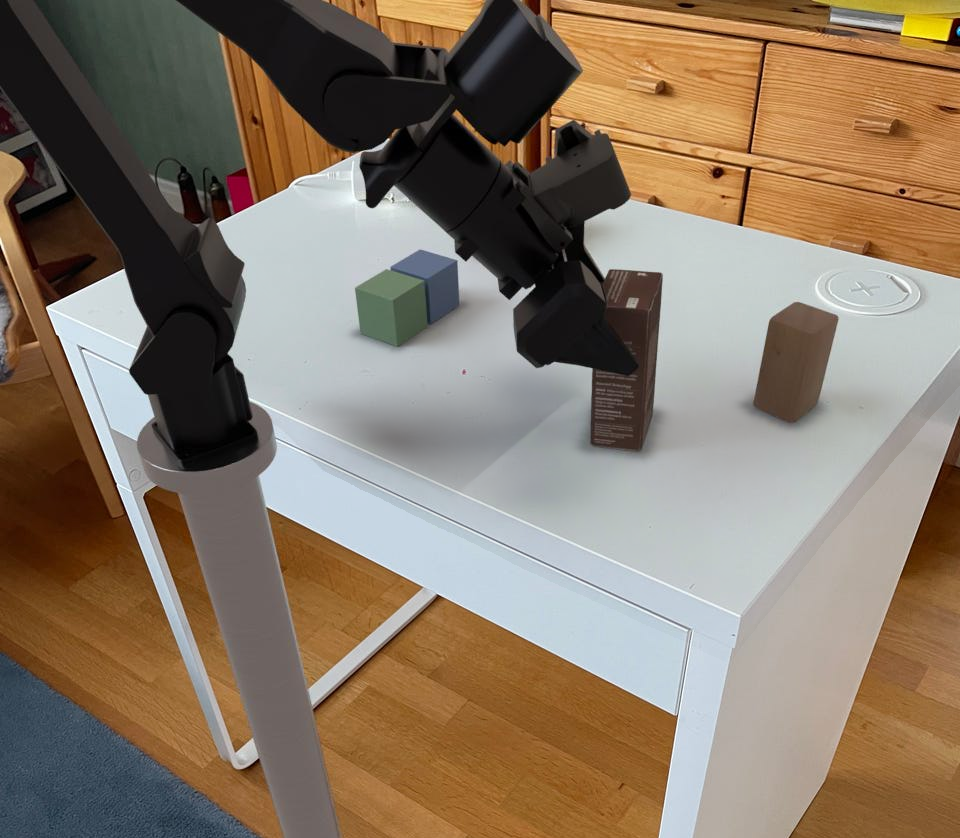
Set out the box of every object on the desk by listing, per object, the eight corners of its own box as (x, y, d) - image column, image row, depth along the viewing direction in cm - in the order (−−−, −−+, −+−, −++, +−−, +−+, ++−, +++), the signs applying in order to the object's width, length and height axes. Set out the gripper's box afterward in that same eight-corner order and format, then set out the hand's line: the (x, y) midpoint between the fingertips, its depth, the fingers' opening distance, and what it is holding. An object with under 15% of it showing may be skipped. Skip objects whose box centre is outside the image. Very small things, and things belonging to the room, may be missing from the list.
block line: (397, 346, 90) (393, 300, 86) (360, 333, 91) (354, 287, 88) (568, 233, 106) (569, 190, 102) (533, 224, 108) (533, 182, 104)
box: (599, 406, 81) (608, 265, 73) (653, 414, 80) (669, 271, 72) (584, 447, 77) (591, 303, 69) (641, 455, 76) (655, 309, 68)
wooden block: (750, 408, 81) (767, 317, 75) (777, 388, 83) (795, 298, 77) (793, 426, 79) (814, 333, 73) (819, 405, 81) (841, 314, 75)
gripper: (575, 150, 55) (741, 324, 63) (545, 54, 68) (685, 207, 76) (443, 292, 60) (611, 435, 68) (439, 178, 74) (580, 309, 81)
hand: (624, 338), depth 73 cm, fingers open, 9 cm apart
